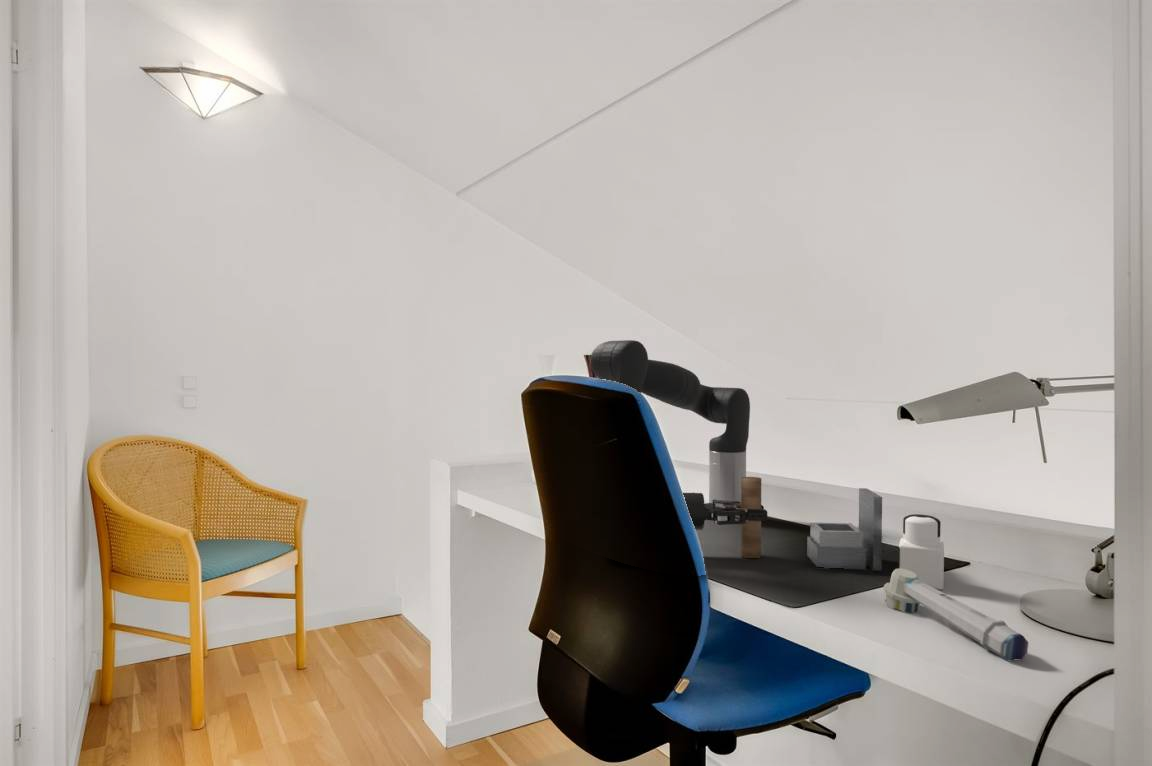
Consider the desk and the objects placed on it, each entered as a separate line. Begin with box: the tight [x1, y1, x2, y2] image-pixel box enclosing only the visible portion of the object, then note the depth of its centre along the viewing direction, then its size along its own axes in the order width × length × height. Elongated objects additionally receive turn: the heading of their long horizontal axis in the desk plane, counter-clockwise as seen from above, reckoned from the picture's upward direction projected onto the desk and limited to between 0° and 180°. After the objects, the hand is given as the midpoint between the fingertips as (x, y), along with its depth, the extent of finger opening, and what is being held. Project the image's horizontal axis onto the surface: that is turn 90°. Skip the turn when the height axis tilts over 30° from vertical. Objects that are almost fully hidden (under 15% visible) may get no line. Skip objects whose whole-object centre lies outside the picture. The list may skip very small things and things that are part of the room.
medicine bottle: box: [898, 513, 945, 591], centre depth 131 cm, size 7×7×12 cm
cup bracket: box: [806, 487, 883, 572], centre depth 144 cm, size 10×12×14 cm
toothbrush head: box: [883, 567, 1030, 661], centre depth 109 cm, size 5×7×25 cm
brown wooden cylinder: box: [740, 476, 762, 559], centre depth 149 cm, size 4×4×16 cm
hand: (764, 512), depth 148 cm, fingers open, 4 cm apart
